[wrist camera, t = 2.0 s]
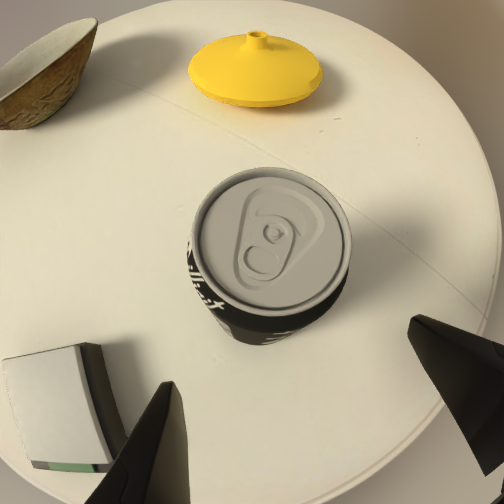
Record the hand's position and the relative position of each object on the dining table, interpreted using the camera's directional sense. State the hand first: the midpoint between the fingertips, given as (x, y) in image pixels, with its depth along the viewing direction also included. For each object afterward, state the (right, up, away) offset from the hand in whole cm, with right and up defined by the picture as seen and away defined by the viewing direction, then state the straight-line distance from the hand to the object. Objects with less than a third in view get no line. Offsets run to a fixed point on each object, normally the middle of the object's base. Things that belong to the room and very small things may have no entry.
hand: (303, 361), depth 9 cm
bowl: (-34, +27, +22) cm, 48 cm away
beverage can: (-1, 0, +12) cm, 12 cm away
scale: (-17, -9, +8) cm, 21 cm away
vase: (-1, +25, +22) cm, 33 cm away
